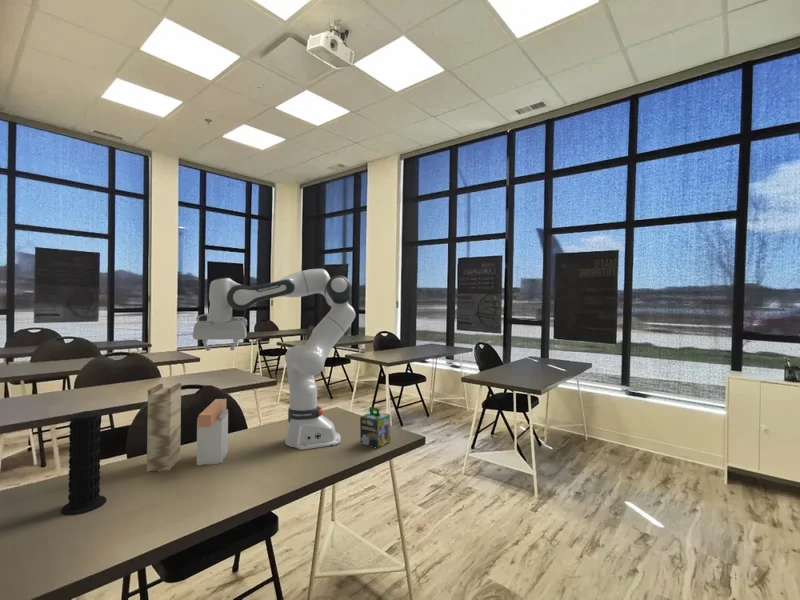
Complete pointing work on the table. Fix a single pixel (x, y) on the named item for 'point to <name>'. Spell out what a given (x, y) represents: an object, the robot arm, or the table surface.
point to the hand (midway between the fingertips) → (220, 350)
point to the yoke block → (213, 441)
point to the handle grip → (84, 464)
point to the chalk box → (375, 428)
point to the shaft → (211, 413)
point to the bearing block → (163, 427)
